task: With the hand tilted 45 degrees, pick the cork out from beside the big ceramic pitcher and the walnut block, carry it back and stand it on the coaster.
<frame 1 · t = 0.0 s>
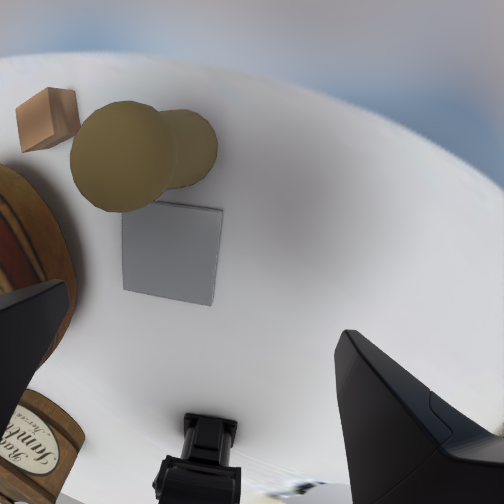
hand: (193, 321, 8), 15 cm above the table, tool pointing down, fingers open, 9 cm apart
wooden container: (50, 416, 37), on the table
walnut block: (61, 119, 20), on the table
ceramic pitcher: (24, 250, 25), on the table
coaster: (169, 251, 24), on the table
cork: (178, 148, 21), on the table
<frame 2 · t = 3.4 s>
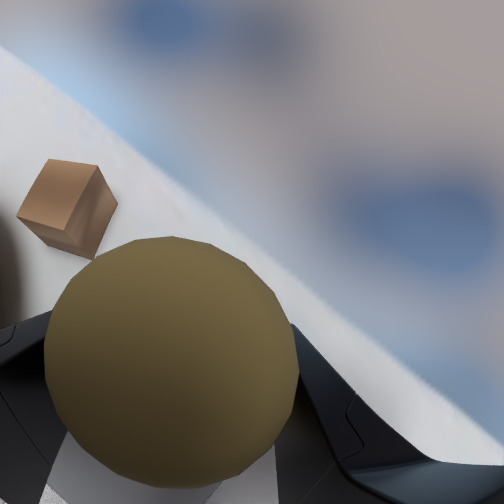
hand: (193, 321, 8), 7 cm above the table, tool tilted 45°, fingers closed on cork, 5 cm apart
walnut block: (81, 225, 17), on the table
coaster: (123, 480, 11), on the table
cork: (204, 369, 14), on the table, touching gripper
when the fingers open (8 cm above the table, at t = 6.4 s): cork stays where it is, resting on coaster.
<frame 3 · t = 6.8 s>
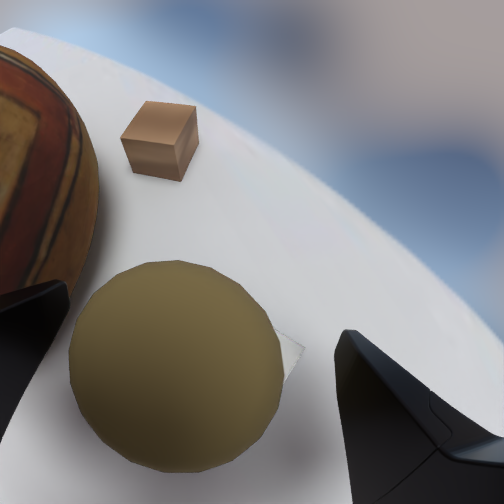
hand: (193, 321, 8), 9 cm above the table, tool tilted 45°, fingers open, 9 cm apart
walnut block: (166, 157, 21), on the table
ceramic pitcher: (14, 249, 18), on the table
coaster: (206, 369, 16), on the table
cork: (203, 370, 15), point 1 cm above the table, touching coaster
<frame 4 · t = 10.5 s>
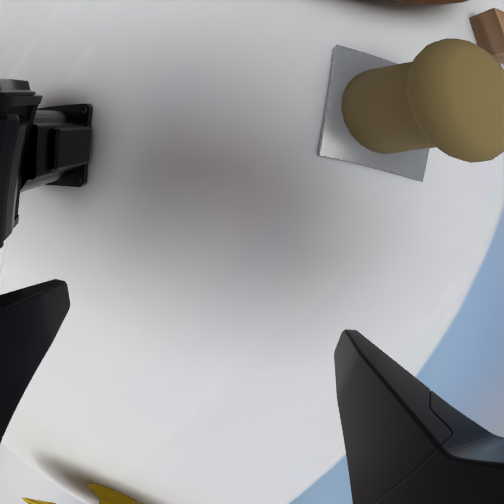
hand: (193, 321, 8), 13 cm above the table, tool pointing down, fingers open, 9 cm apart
cake stand: (112, 495, 47), on the table
walnut block: (488, 41, 14), on the table
coaster: (380, 113, 17), on the table
cork: (382, 111, 17), point 1 cm above the table, touching coaster
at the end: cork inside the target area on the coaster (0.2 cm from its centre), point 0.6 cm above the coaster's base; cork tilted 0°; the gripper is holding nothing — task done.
